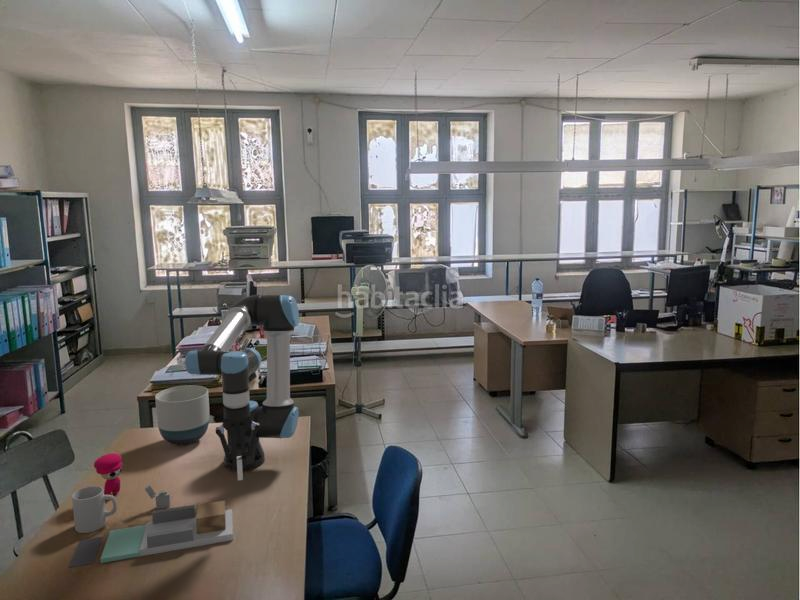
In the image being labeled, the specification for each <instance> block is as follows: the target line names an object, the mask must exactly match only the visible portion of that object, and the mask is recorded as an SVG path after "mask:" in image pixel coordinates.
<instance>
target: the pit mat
mask: <svg viewBox="0 0 800 600" xmlns="http://www.w3.org/2000/svg"><path fill="white" fill-rule="evenodd" d="M103 538H104V536H97V537H90V538H84V539H79V542H78V544H77V546H76V548H75V552H74V554H73V556H72V558H71V561H70V563H69V565H68V567H67V568H68V569H70V568H76V567H81V566H86V565H93V564H94V562H95V559H96V557H97V555H98V552H99V548H100V546H101V544H102V540H103Z"/></svg>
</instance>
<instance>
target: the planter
mask: <svg viewBox="0 0 800 600" xmlns="http://www.w3.org/2000/svg"><path fill="white" fill-rule="evenodd" d="M209 396H210V395H209V389H208V388H207V387H204V386H202V385H193V384H191V385H179V386H178V385H177V386H173V387H170V388H166V389H163V390H161V391H159V392H157V393H156V394H155V397H154V400H155V411H156V421H157V427H158V430H159V433H160V436H161V437H162V438H163V440H165V441H166V442H167V443H169V444H170V445H174V446H188V445H189V446H190V445H191V444H194V443H196V442H198V441H200V440H201V438H203V437H204V435H206V433H207V431H208V428H209V424H210V401H209V400H210V399H209Z"/></svg>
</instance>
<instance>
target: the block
mask: <svg viewBox="0 0 800 600" xmlns="http://www.w3.org/2000/svg"><path fill="white" fill-rule="evenodd" d="M225 510H226V501H225V500H220V501H219V500H218V501H213V502H205V503H199V504H197V506H196V513H195V515H196V525H197V534H201V533H207V532H213V531H219V530H225V529H226V514H225Z"/></svg>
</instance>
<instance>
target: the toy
mask: <svg viewBox="0 0 800 600" xmlns="http://www.w3.org/2000/svg"><path fill="white" fill-rule="evenodd" d="M93 468H94V469H95V472H96V473H97V474H98V475H100V476H101V478H102V479H105V482H104V488H103V491H104V495H113V496H116V495H117V494H119V492H120V490H121V478H120V474H121V472H122V468H123V462H122V456H121V455H120V454H118V453H115V452H114V453H107V454H104V455H102V456H100V457H98V458H97V459H95V461H94V462H93Z"/></svg>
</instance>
